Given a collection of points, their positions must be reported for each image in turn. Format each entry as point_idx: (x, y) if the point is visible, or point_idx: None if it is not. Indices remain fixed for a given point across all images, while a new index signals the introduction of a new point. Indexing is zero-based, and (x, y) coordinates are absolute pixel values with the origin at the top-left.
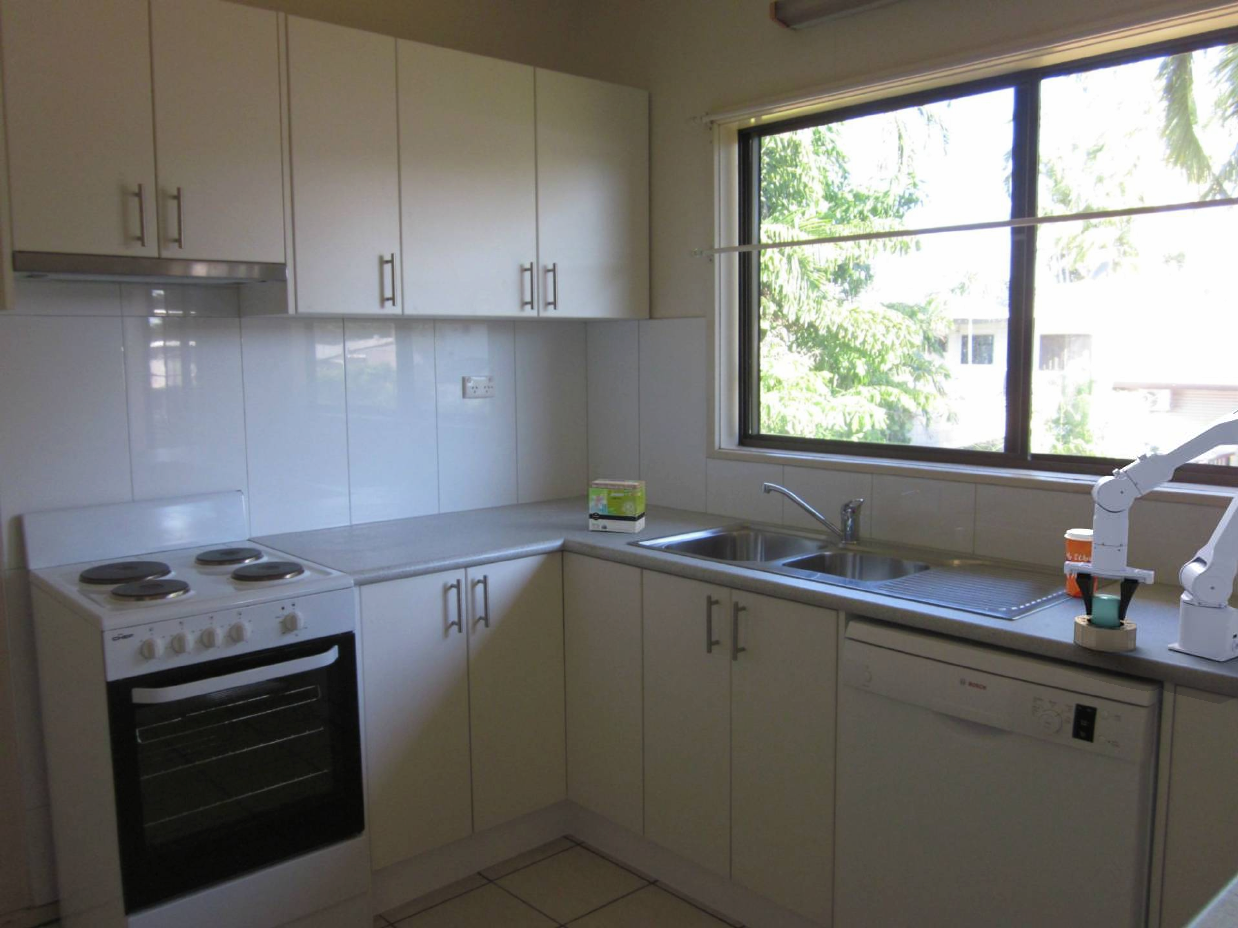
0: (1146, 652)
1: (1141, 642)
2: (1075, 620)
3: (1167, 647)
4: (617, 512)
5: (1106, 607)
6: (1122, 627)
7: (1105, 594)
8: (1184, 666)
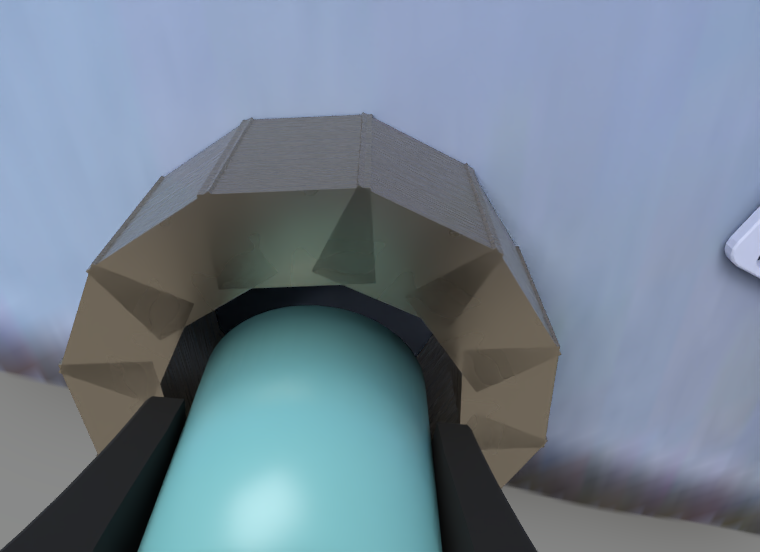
0: (567, 361)
1: (573, 156)
2: (100, 448)
3: (725, 251)
4: None
5: None
6: None
7: (243, 539)
8: (707, 486)
